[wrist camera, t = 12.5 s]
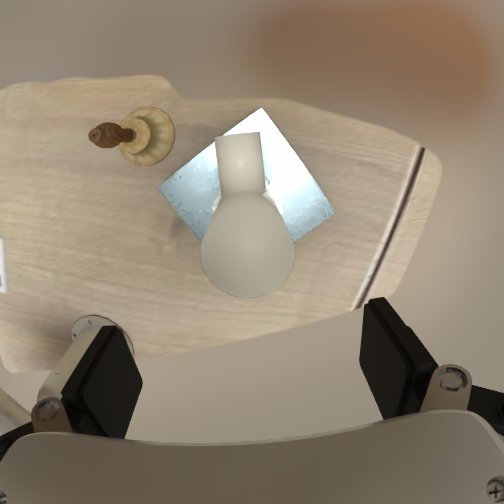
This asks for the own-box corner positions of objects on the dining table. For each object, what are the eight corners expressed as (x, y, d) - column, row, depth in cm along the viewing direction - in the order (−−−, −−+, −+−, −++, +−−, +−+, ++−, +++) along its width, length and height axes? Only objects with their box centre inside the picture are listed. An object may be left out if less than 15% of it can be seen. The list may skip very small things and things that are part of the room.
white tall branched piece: (276, 227, 36) (297, 292, 21) (224, 232, 36) (208, 301, 21) (266, 132, 32) (283, 125, 17) (211, 139, 32) (181, 138, 17)
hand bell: (140, 96, 36) (85, 77, 21) (187, 127, 38) (151, 120, 23) (108, 145, 38) (43, 154, 23) (152, 177, 40) (103, 200, 25)
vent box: (236, 270, 45) (234, 304, 36) (165, 183, 40) (142, 197, 31) (328, 206, 42) (350, 225, 33) (259, 110, 37) (264, 101, 28)
